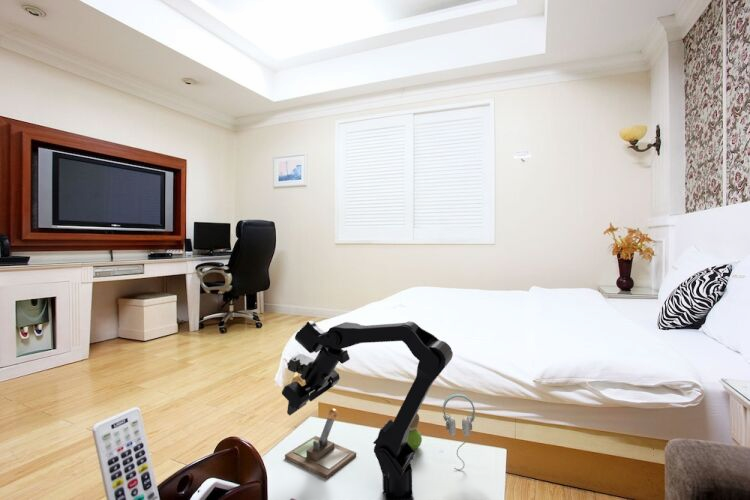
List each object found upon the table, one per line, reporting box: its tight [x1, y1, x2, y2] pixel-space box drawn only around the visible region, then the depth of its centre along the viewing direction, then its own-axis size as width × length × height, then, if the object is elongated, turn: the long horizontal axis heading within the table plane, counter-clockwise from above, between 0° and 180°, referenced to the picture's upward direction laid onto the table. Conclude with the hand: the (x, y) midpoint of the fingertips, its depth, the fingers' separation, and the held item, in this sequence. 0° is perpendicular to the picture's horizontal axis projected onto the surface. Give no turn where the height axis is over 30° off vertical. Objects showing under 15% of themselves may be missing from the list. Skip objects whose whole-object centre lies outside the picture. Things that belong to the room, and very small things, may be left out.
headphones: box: [442, 393, 476, 471], centre depth 95 cm, size 8×4×20 cm, turn 85°
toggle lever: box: [319, 407, 339, 448], centre depth 100 cm, size 3×3×12 cm
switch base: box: [284, 435, 357, 480], centre depth 102 cm, size 16×12×5 cm
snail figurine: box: [407, 413, 423, 450], centre depth 106 cm, size 5×6×12 cm
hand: (299, 406), depth 100 cm, fingers open, 9 cm apart
